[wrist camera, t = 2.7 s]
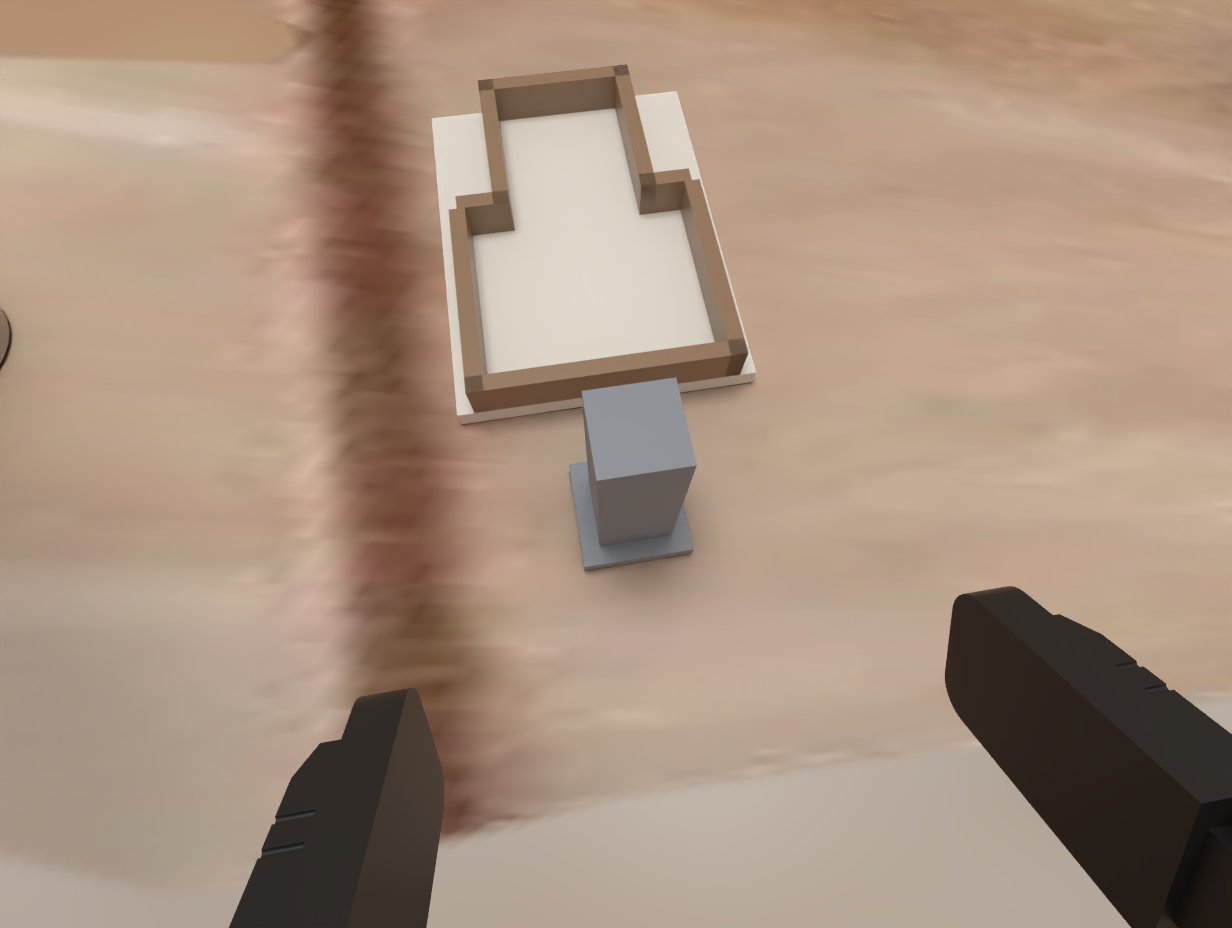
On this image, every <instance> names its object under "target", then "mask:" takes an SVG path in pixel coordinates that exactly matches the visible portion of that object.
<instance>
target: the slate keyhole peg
mask: <svg viewBox="0 0 1232 928" xmlns="http://www.w3.org/2000/svg"><path fill="white" fill-rule="evenodd" d="M582 402H583V415H584V427H585V439H586V451H587V462H583V463H577V464H570V465H569V469H570V476H571V483H572V489H573V496H574V502H575V509H576V515H577V522H578V529H579V535H580V542H581V548H582V555H583V562H584V568H585V571H588V570H594V569H600V568H606V567H612V566H618V565H624V564H631V563H637V562H643V561H649V560H655V559H661V558H667V557H673V556H679V555H685V554H691V553H692V551H693V546H692V541H691V537H690V532H689V527H688V523H687V518H686V514H685V509H684V504H683V502H684V499H685V496H686V493H687V490H688V488H689V485H690V482H691V479H692V477H693V474H694V471H695V468H696V461H695V457H694V452H693V448H692V444H691V439H690V435H689V431H688V426H687V422H686V418H685V413H684V409H683V405H682V400H681V396H680V392H679V387H678V383H677V378H669V379H662V380H655V381H648V382H641V383H634V384H627V385H620V386H613V387H606V388H599V389H592V390H585V391H582Z"/></svg>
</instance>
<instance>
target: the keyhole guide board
mask: <svg viewBox="0 0 1232 928" xmlns="http://www.w3.org/2000/svg"><path fill="white" fill-rule="evenodd" d="M478 85H479V93H480V101H481V109H482V113H477V114H468V115H459V116H450V117H441V118H432V127H433V139H434V150H435V162H436V174H437V185H438V197H439V209H440V220H441V232H442V244H443V255H444V267H445V279H446V290H447V302H448V314H449V325H450V337H451V349H452V360H453V372H454V384H455V395H456V407H457V416H458V418H459V420H460V422H461V424H468V423H475V422H481V421H488V420H495V419H502V418H509V417H516V416H523V415H529V414H536V413H543V412H550V411H557V410H564V409H571V408H578V407H583V402H582V391H585V390H592V389H599V388H606V387H613V386H620V385H627V384H634V383H641V382H648V381H655V380H662V379H669V378H677V383H678V387H679V392H680V393H681V392H687V391H694V390H701V389H708V388H715V387H722V386H729V385H736V384H742V383H749V382H752V381H753V378H754V376H755V374H756V370H755V367H754V363H753V360H752V356H751V353H750V349H749V346H748V342H747V339H746V335H745V332H744V328H743V324H742V321H741V317H740V314H739V310H738V307H737V303H736V300H735V296H734V293H733V289H732V286H731V282H730V278H729V275H728V271H727V268H726V264H725V261H724V257H723V254H722V250H721V247H720V243H719V240H718V236H717V233H716V229H715V225H714V222H713V218H712V215H711V211H710V208H709V204H708V201H707V197H706V194H705V190H704V187H703V183H702V179H701V176H700V172H699V169H698V165H697V162H696V158H695V155H694V151H693V148H692V144H691V141H690V137H689V133H688V130H687V126H686V123H685V119H684V116H683V112H682V109H681V105H680V102H679V98H678V95H677V91H675V92H666V93H657V94H648V95H639V96H635V95H634V91H633V87H632V83H631V79H630V75H629V71H628V67H627V65H619V66H609V67H600V68H591V69H581V70H572V71H563V72H554V73H544V74H535V75H526V76H516V77H507V78H498V79H488V80H479V81H478Z"/></svg>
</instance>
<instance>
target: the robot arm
mask: <svg viewBox="0 0 1232 928" xmlns="http://www.w3.org/2000/svg"><path fill="white" fill-rule="evenodd" d="M8 343H9V326H8V322H7V318H6V317H5V315H4V313H3V311H2V310H1V309H0V363H1V361H2V360H3V358H4V355H5V352H6V349H7V346H8ZM945 683H946V688H947V692H948V695H949V698H950V701H951V703H952V705H953V707H954V709H955V711H956V713H957V714H958V716H959V717H960V719H961V720H962V721H963V722H964V724H965V725H966V726H967V727H968V728H969V730H970V731H971V732H972V733H973V735H974V736H975V737H976V738H977V739H978V741H979V742H980V743H981V744H982V746H983V747H984V748H985V749H986V750H987V752H988V753H989V754H990V755H991V757H992V758H993V759H994V760H995V761H996V763H997V764H998V765H999V766H1000V768H1001V769H1002V770H1003V771H1004V772H1005V774H1006V775H1007V776H1008V777H1009V779H1010V780H1011V781H1012V782H1013V783H1014V785H1015V786H1016V787H1017V788H1018V789H1019V791H1020V792H1021V793H1022V794H1023V796H1024V797H1025V798H1026V799H1027V801H1028V802H1029V803H1030V804H1031V806H1032V807H1033V808H1034V809H1035V810H1036V812H1037V813H1038V814H1039V815H1040V816H1041V818H1042V819H1043V820H1044V821H1045V823H1046V824H1047V825H1048V826H1049V827H1050V829H1051V830H1052V831H1053V832H1054V834H1055V835H1056V836H1057V837H1058V838H1059V840H1060V841H1061V842H1062V843H1063V845H1064V846H1065V847H1066V848H1067V849H1068V851H1069V852H1070V853H1071V854H1072V855H1073V857H1074V858H1075V859H1076V861H1077V862H1078V863H1079V864H1080V865H1081V867H1082V868H1083V869H1084V870H1085V872H1086V873H1087V874H1088V875H1089V876H1090V877H1091V879H1092V880H1093V881H1094V882H1095V884H1096V885H1097V886H1098V887H1099V889H1100V890H1101V891H1102V892H1103V893H1104V895H1105V896H1106V897H1107V898H1108V900H1109V901H1110V902H1111V903H1112V905H1113V906H1114V907H1115V908H1116V909H1117V911H1118V912H1119V913H1120V914H1121V915H1122V917H1123V918H1124V919H1125V920H1126V922H1127V923H1128V924H1129V925H1130V927H1131V928H1232V734H1231V733H1229V732H1228V731H1227V730H1225V729H1224V728H1223V727H1221V726H1220V725H1219V724H1218V723H1216V722H1215V721H1214V720H1212V719H1211V718H1210V717H1208V716H1207V715H1206V714H1205V713H1203V712H1202V711H1201V710H1199V709H1198V708H1197V707H1195V706H1194V705H1193V704H1192V703H1190V702H1189V701H1188V700H1186V699H1185V698H1184V697H1183V696H1181V695H1180V694H1179V693H1177V692H1176V691H1175V690H1168V689H1167V687H1166V683H1164V682H1163V681H1162V680H1160V679H1159V678H1158V677H1157V676H1155V675H1154V674H1153V673H1151V672H1150V671H1149V670H1147V669H1146V668H1145V667H1139V666H1138V665H1137V661H1136V660H1134V659H1133V658H1132V657H1131V656H1129V655H1128V654H1127V653H1125V652H1124V651H1123V650H1121V649H1120V648H1119V647H1118V646H1116V645H1115V644H1114V643H1112V642H1111V641H1110V640H1109V639H1107V638H1106V637H1105V636H1103V635H1102V634H1100V633H1098V632H1096V631H1094V630H1092V629H1089V628H1087V627H1085V626H1083V625H1081V624H1079V623H1077V622H1075V621H1072V620H1070V619H1068V618H1066V617H1064V616H1062V615H1060V614H1058V615H1052V614H1051V613H1049V612H1048V611H1047V610H1046V609H1045V608H1043V607H1042V606H1041V605H1040V604H1038V603H1037V602H1036V601H1035V600H1033V599H1032V598H1031V597H1030V596H1028V595H1027V594H1026V593H1025V592H1023V591H1022V590H1020V589H1018V588H1016V587H1012V586H1007V587H1001V588H996V589H990V590H984V591H978V592H973V593H967V594H962V595H959V596H958V597H957V598H956V600H955V601H954V604H953V609H952V618H951V626H950V635H949V643H948V652H947V660H946V668H945ZM443 810H444V782H443V774H442V768H441V764H440V760H439V757H438V754H437V751H436V747H435V744H434V741H433V738H432V735H431V731H430V728H429V725H428V722H427V719H426V715H425V712H424V709H423V706H422V702H421V699H420V697H419V694H418V692H417V691H416V689H414V688H408V689H402V690H397V691H391V692H385V693H379V694H373V695H368V696H362V697H359V698H358V699H357V700H356V702H355V703H354V706H353V708H352V711H351V714H350V716H349V719H348V722H347V725H346V728H345V730H344V733H343V736H342V739H341V740H336V741H330V742H324V743H320V744H319V745H318V747H317V748H316V749H315V750H314V751H313V753H312V754H311V755H310V756H309V757H308V759H307V760H306V761H305V762H304V763H303V765H302V766H301V767H300V768H299V770H298V771H297V772H296V773H295V774H294V776H293V777H292V778H291V780H290V783H289V785H288V787H287V790H286V792H285V795H284V797H283V799H282V802H281V804H280V807H279V809H278V811H277V814H276V816H275V818H276V822H275V824H273V825H272V826H271V828H270V830H269V833H268V835H267V838H266V840H265V842H264V845H263V847H262V856H261V858H259V859H257V862H256V864H255V866H254V869H253V871H252V874H251V876H250V878H249V881H248V883H247V886H246V888H245V890H244V893H243V895H242V898H241V900H240V902H239V905H238V907H237V910H236V912H235V914H234V917H233V919H232V922H231V924H230V926H229V928H426V926H427V919H428V912H429V906H430V899H431V892H432V885H433V878H434V872H435V865H436V858H437V851H438V845H439V838H440V831H441V824H442V817H443Z"/></svg>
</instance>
